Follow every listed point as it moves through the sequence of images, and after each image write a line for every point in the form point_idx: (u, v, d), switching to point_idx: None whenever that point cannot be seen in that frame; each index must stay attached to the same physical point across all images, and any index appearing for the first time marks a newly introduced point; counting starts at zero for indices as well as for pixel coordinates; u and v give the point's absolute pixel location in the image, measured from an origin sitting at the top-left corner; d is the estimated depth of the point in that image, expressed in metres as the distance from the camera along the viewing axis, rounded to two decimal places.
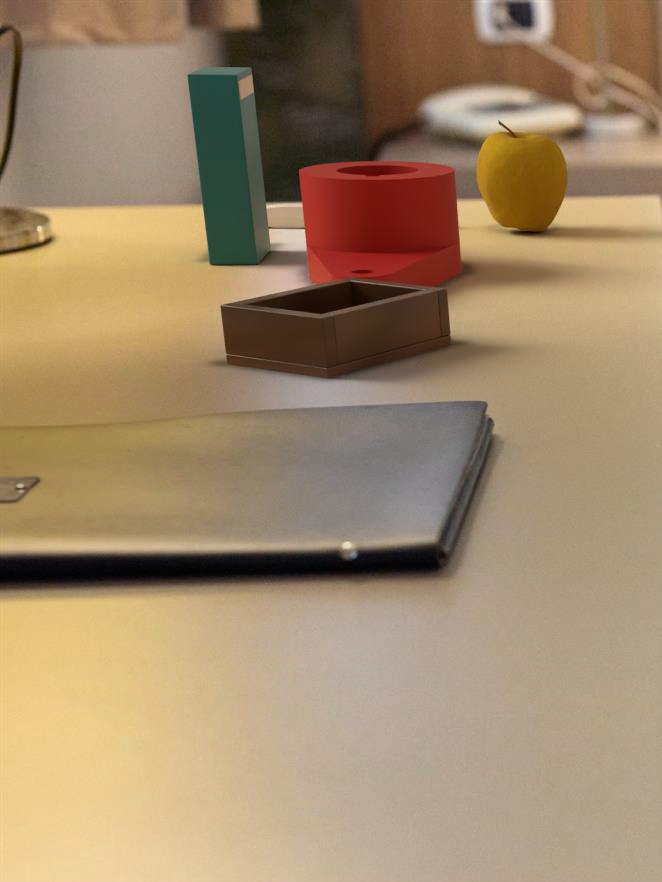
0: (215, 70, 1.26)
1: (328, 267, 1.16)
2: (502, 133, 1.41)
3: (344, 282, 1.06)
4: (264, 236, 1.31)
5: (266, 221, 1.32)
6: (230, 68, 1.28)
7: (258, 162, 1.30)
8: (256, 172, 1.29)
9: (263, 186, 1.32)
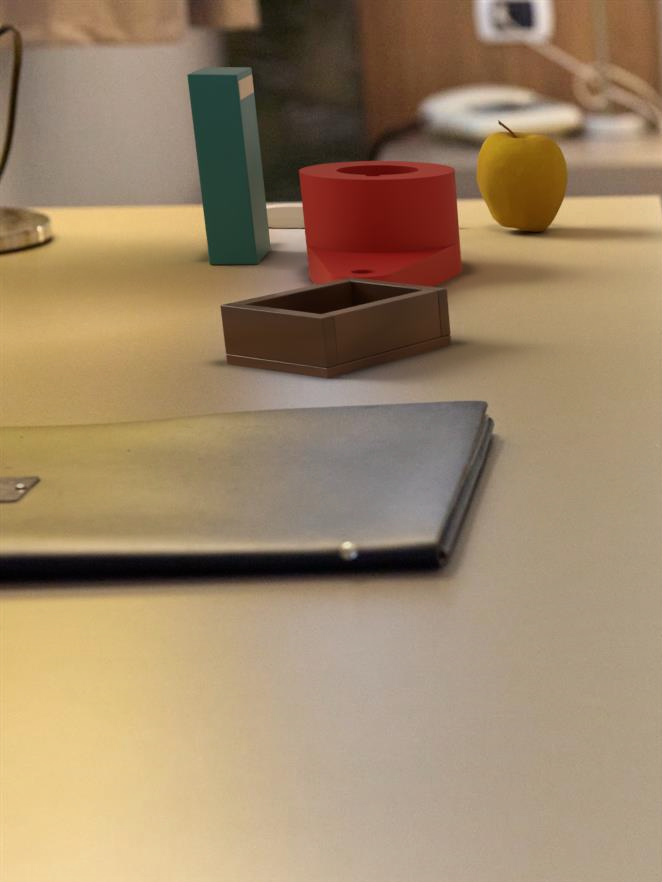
0: (215, 70, 1.26)
1: (328, 267, 1.16)
2: (502, 133, 1.41)
3: (344, 282, 1.06)
4: (264, 236, 1.31)
5: (266, 221, 1.32)
6: (230, 68, 1.28)
7: (258, 162, 1.30)
8: (256, 172, 1.29)
9: (263, 186, 1.32)
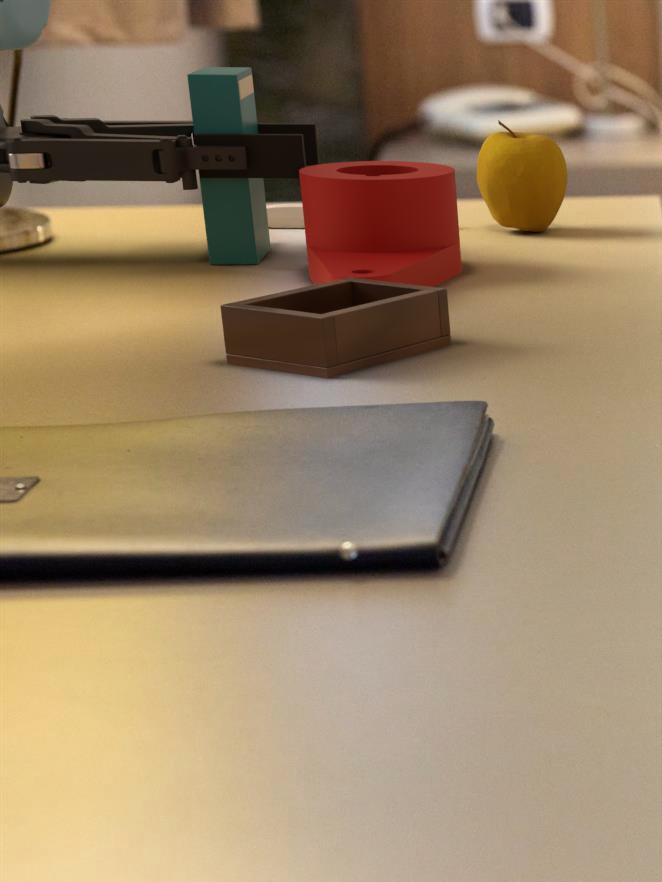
0: (215, 70, 1.26)
1: (328, 267, 1.16)
2: (502, 133, 1.41)
3: (344, 282, 1.06)
4: (264, 236, 1.31)
5: (266, 221, 1.32)
6: (230, 68, 1.28)
7: None
8: None
9: (263, 186, 1.32)
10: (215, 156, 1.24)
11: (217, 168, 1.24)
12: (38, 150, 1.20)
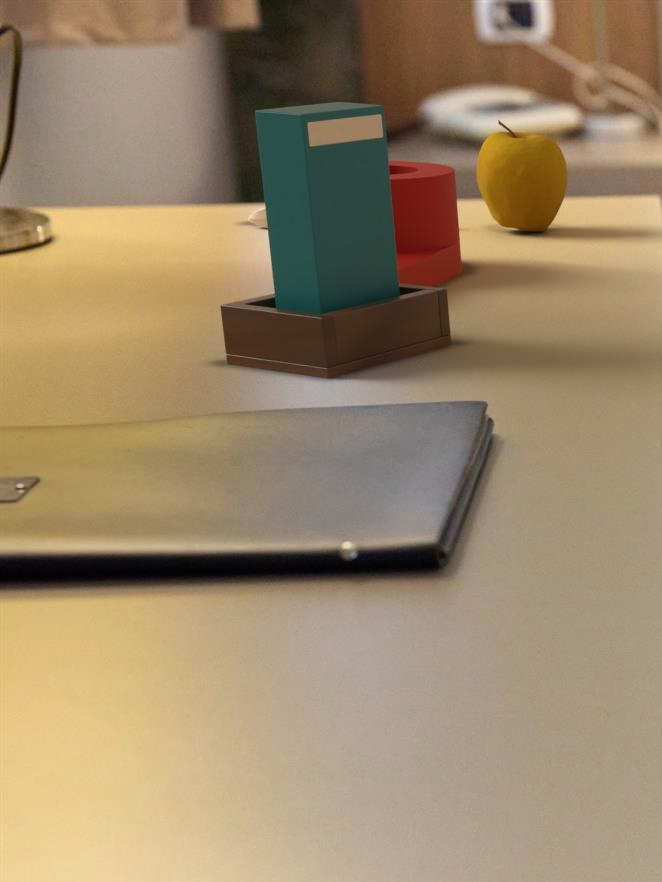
0: (318, 107, 0.99)
1: None
2: (502, 133, 1.41)
3: None
4: None
5: None
6: (351, 105, 1.00)
7: (377, 226, 1.01)
8: (362, 239, 1.00)
9: (392, 257, 1.03)
10: None
11: None
12: None
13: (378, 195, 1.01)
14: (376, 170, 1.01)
